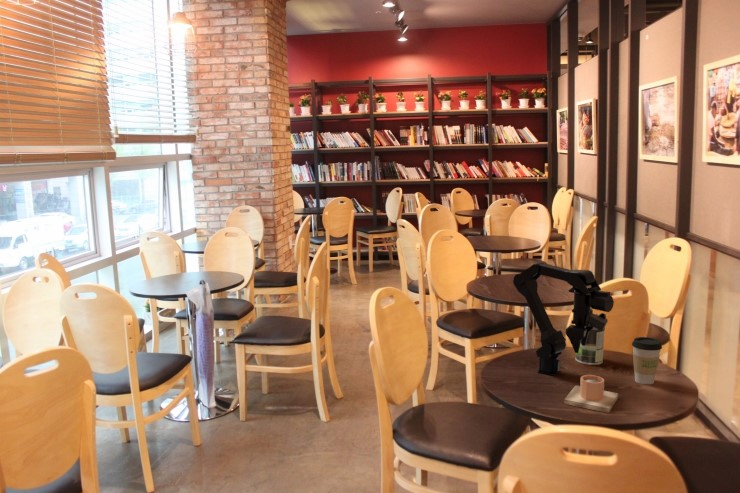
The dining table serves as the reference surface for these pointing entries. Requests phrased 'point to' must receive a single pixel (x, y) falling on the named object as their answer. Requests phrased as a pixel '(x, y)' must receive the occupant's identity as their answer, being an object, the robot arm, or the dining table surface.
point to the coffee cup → (645, 359)
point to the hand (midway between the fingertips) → (580, 349)
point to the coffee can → (592, 348)
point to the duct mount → (600, 405)
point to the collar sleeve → (592, 388)
